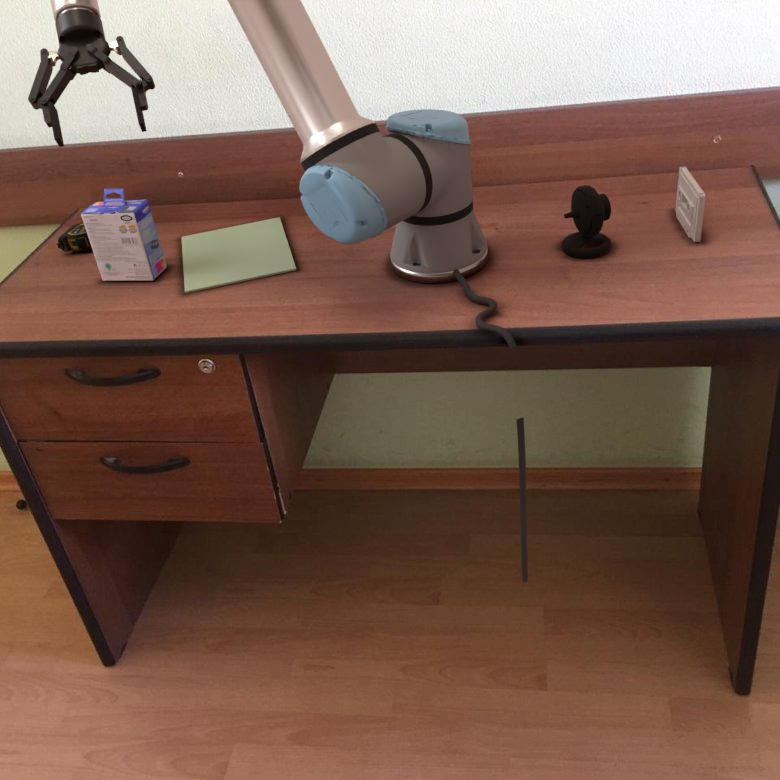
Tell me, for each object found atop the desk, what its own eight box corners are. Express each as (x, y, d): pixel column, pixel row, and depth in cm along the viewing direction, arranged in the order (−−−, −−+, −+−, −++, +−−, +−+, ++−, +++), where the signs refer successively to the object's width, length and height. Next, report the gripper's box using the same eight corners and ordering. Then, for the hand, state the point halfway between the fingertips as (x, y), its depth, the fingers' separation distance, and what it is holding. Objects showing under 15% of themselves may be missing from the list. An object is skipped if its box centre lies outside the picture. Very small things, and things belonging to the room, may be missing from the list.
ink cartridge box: (169, 266, 141) (145, 184, 133) (155, 281, 137) (130, 198, 128) (117, 266, 143) (90, 186, 135) (101, 282, 139) (73, 200, 131)
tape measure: (78, 239, 155) (71, 220, 153) (112, 237, 154) (105, 219, 152) (60, 255, 150) (53, 236, 148) (95, 254, 148) (88, 235, 146)
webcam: (620, 252, 127) (623, 190, 121) (575, 263, 125) (576, 201, 120) (596, 233, 133) (598, 173, 127) (553, 243, 132) (553, 183, 126)
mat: (296, 270, 134) (296, 268, 134) (185, 293, 132) (184, 291, 132) (280, 219, 152) (279, 216, 152) (181, 238, 150) (181, 236, 150)
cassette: (703, 242, 126) (709, 194, 122) (691, 243, 126) (696, 195, 122) (683, 210, 136) (688, 165, 132) (672, 211, 136) (676, 166, 132)
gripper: (156, 22, 146) (180, 132, 142) (10, 46, 143) (31, 159, 139) (147, -6, 139) (173, 109, 135) (-6, 19, 135) (15, 137, 132)
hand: (101, 135), depth 137 cm, fingers open, 13 cm apart
